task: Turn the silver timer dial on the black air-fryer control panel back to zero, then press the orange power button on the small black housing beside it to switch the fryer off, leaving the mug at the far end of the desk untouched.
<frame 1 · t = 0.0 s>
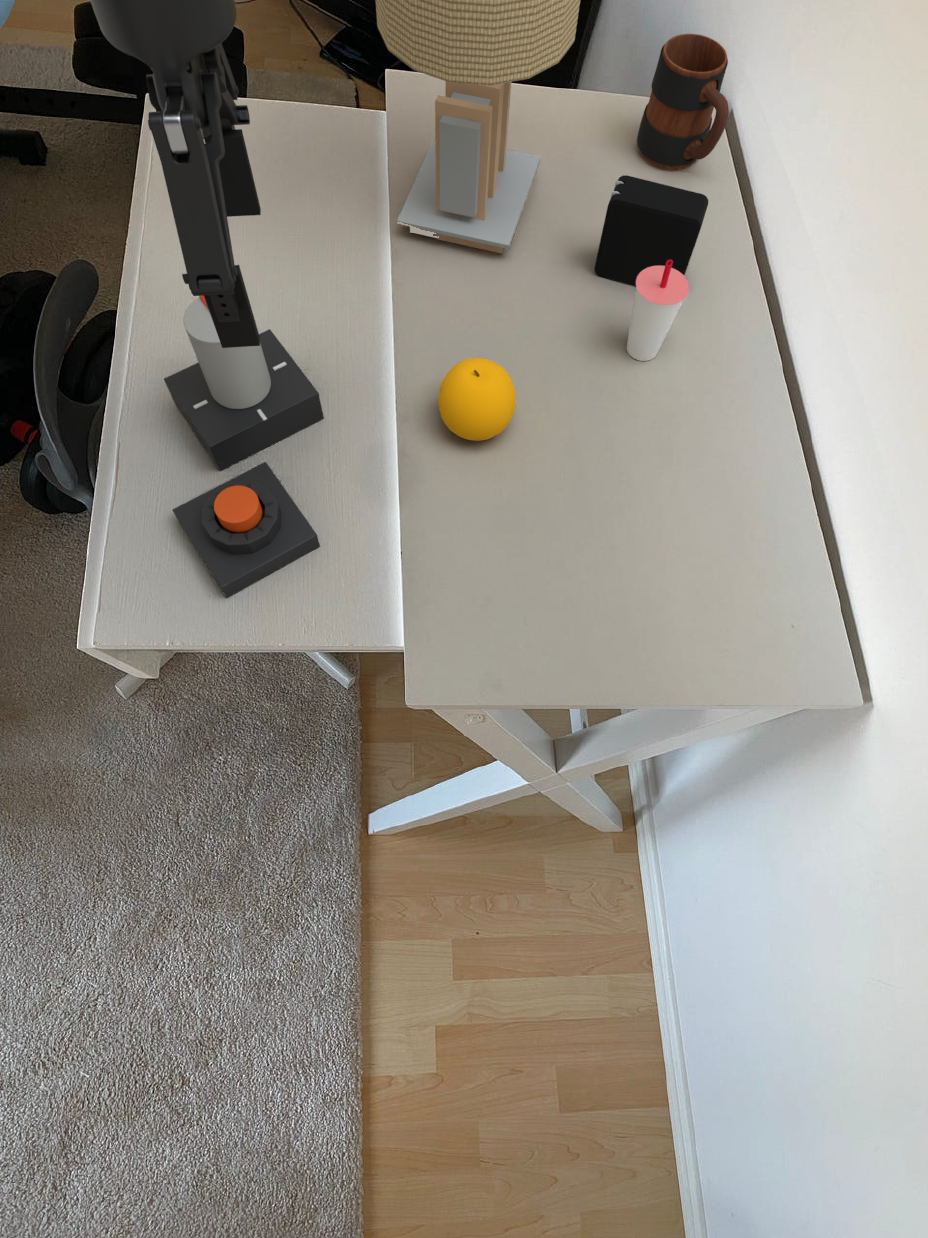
hand: (242, 275, 60), 22 cm above the table, tool pointing down, fingers open, 13 cm apart
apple: (475, 422, 82), on the table
mug: (675, 159, 100), on the table
power housing: (249, 533, 76), on the table
cup: (641, 350, 87), on the table
electronic device: (638, 275, 92), on the table
desk lamp: (470, 206, 96), on the table
power button: (238, 509, 72), point 4 cm above the table, slide at 0.1 cm
dial panel: (249, 411, 82), on the table
timer dial: (229, 351, 74), point 9 cm above the table, hinge at 90.0°
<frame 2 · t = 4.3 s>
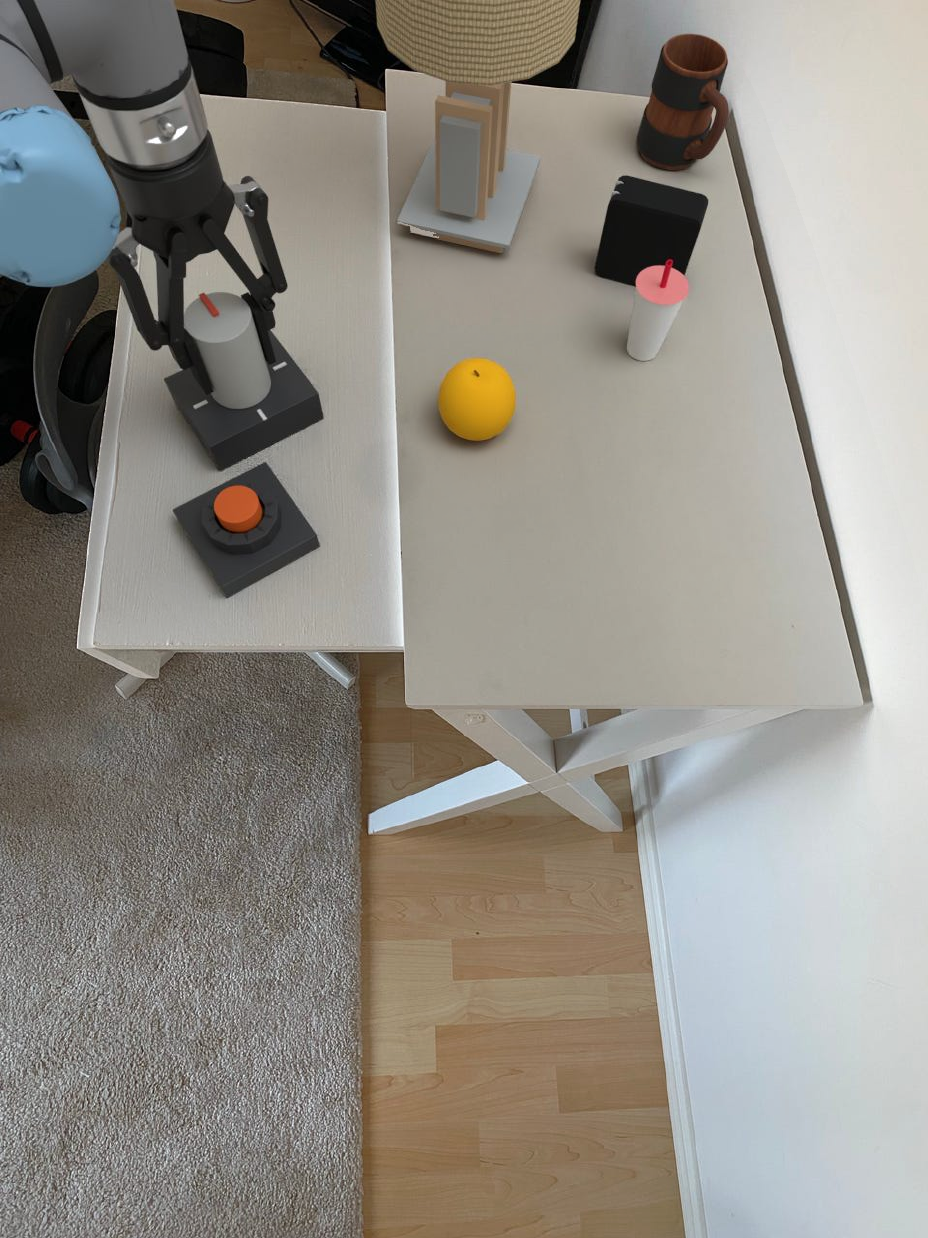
hand: (235, 368, 76), 6 cm above the table, tool pointing down, fingers closed on timer dial, 6 cm apart
timer dial: (229, 351, 74), point 9 cm above the table, hinge at 90.0°, touching gripper
everything else where it was.
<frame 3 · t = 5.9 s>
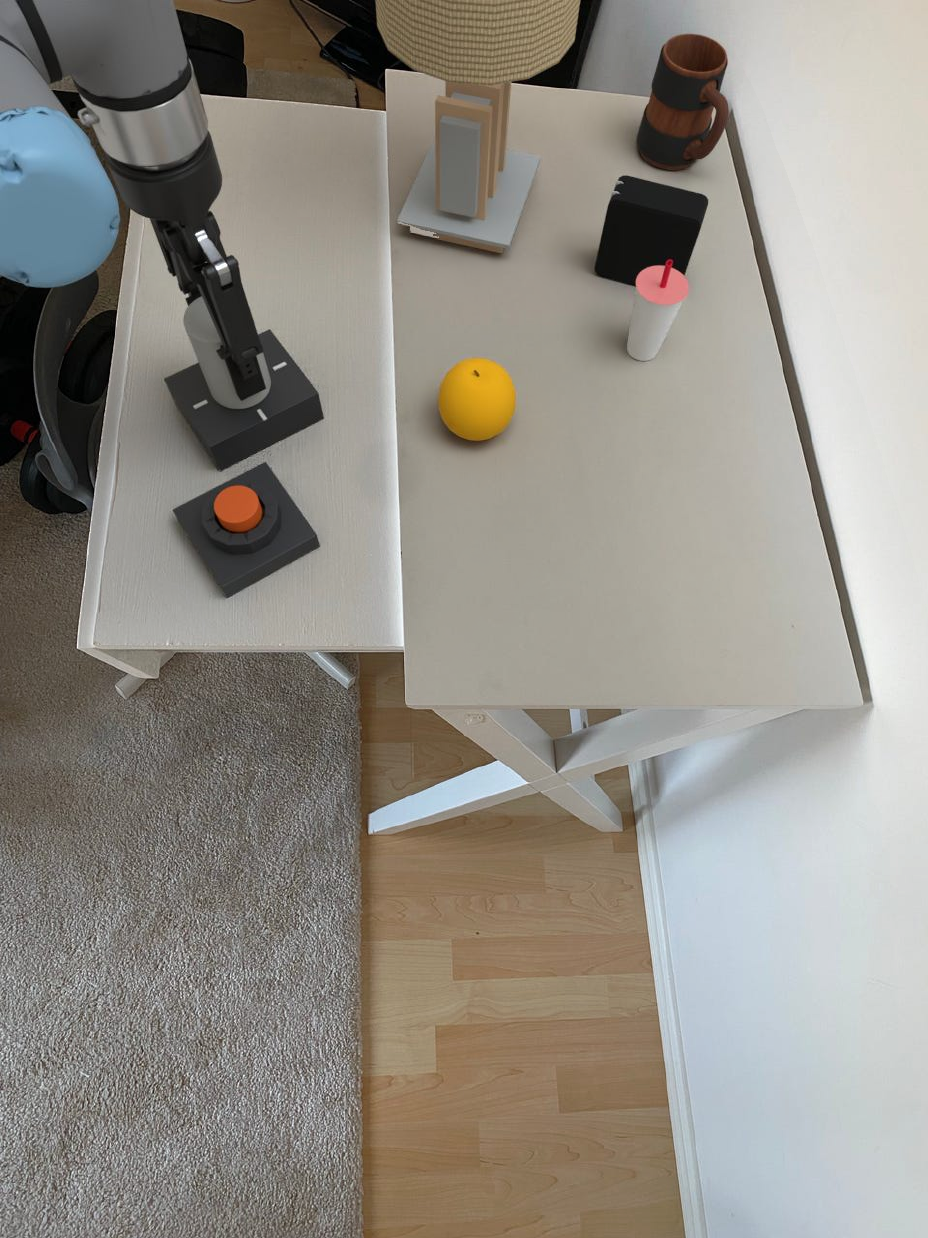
hand: (235, 368, 76), 6 cm above the table, tool pointing down, fingers closed on timer dial, 6 cm apart
timer dial: (229, 351, 74), point 9 cm above the table, hinge at -0.3°, touching gripper
everything else where it was.
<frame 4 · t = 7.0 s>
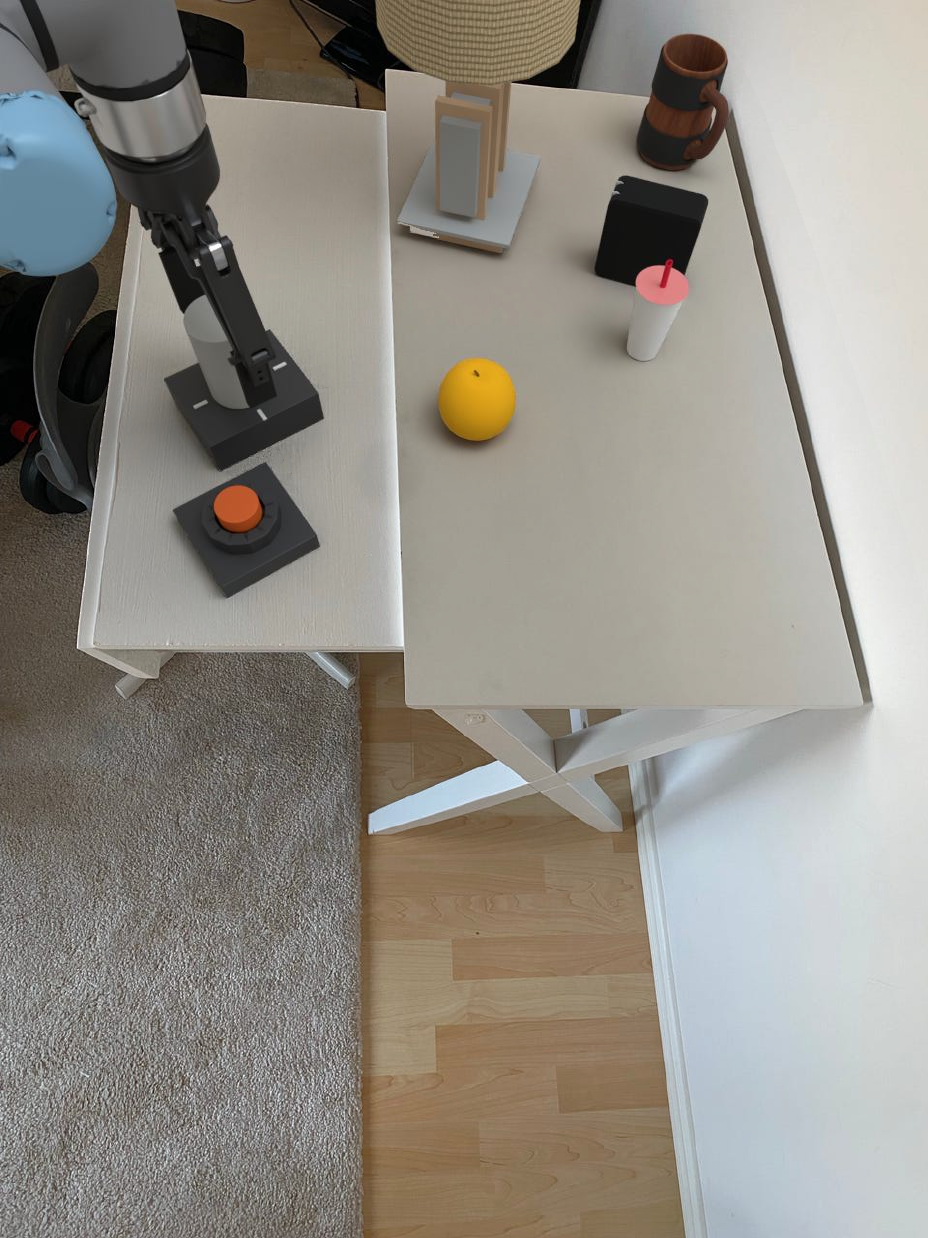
hand: (227, 351, 74), 9 cm above the table, tool pointing down, fingers open, 13 cm apart
timer dial: (229, 351, 74), point 9 cm above the table, hinge at -0.5°
everything else where it was.
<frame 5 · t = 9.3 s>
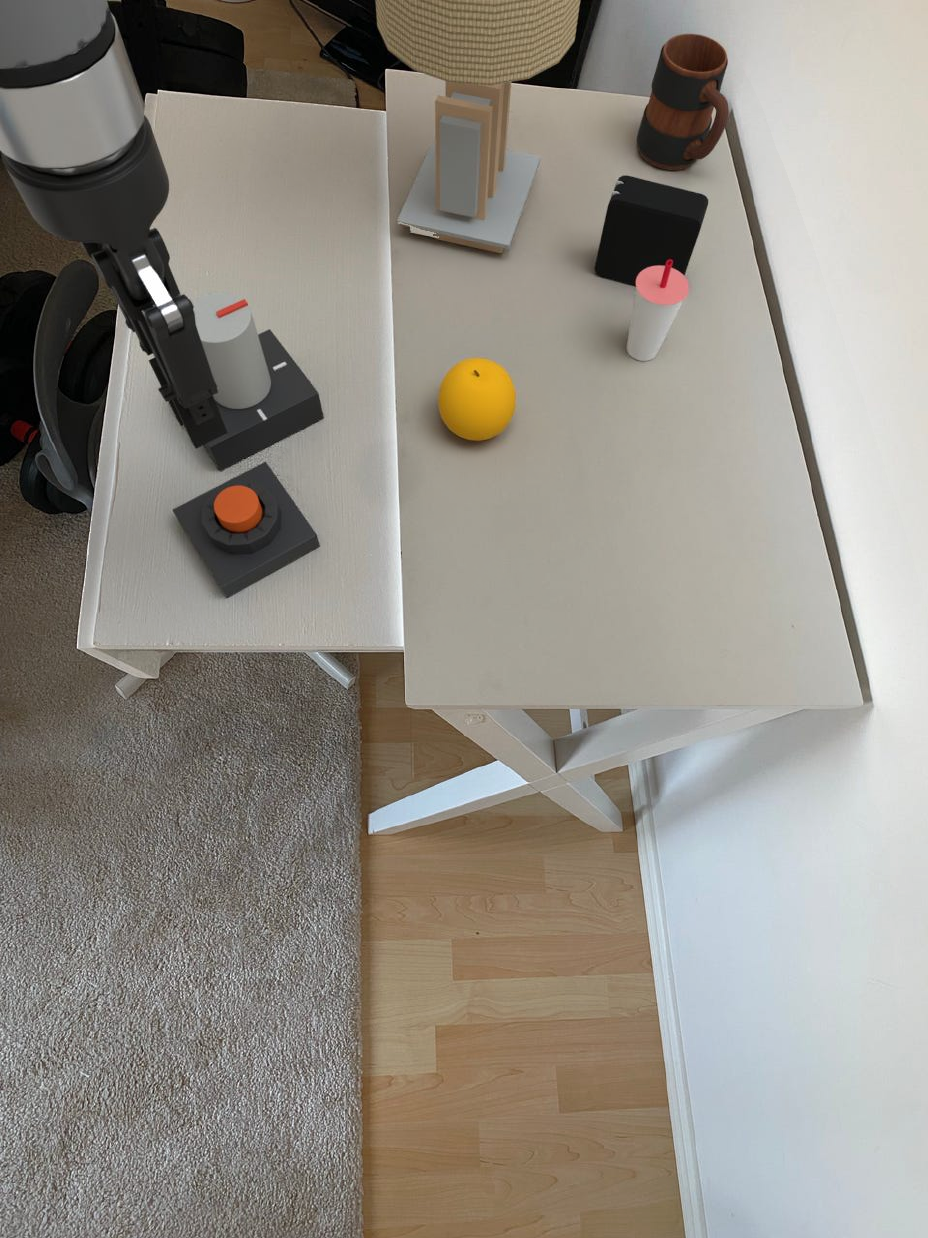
hand: (202, 425, 61), 16 cm above the table, tool pointing down, fingers closed
nothing on the table moved.
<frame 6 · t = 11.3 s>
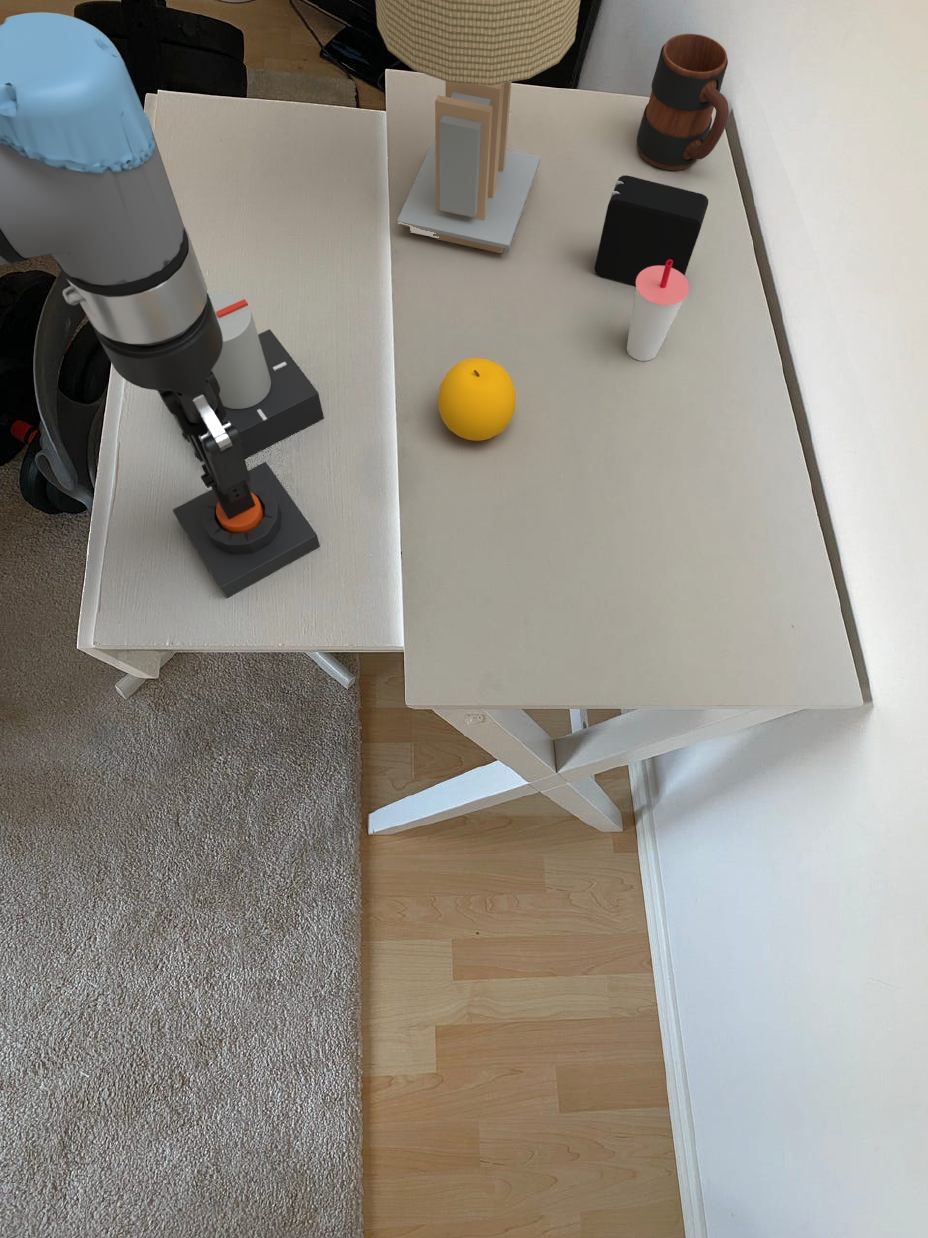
hand: (238, 506, 72), 5 cm above the table, tool pointing down, fingers closed
power button: (240, 513, 73), point 4 cm above the table, slide at -0.6 cm, touching gripper
everything else where it was.
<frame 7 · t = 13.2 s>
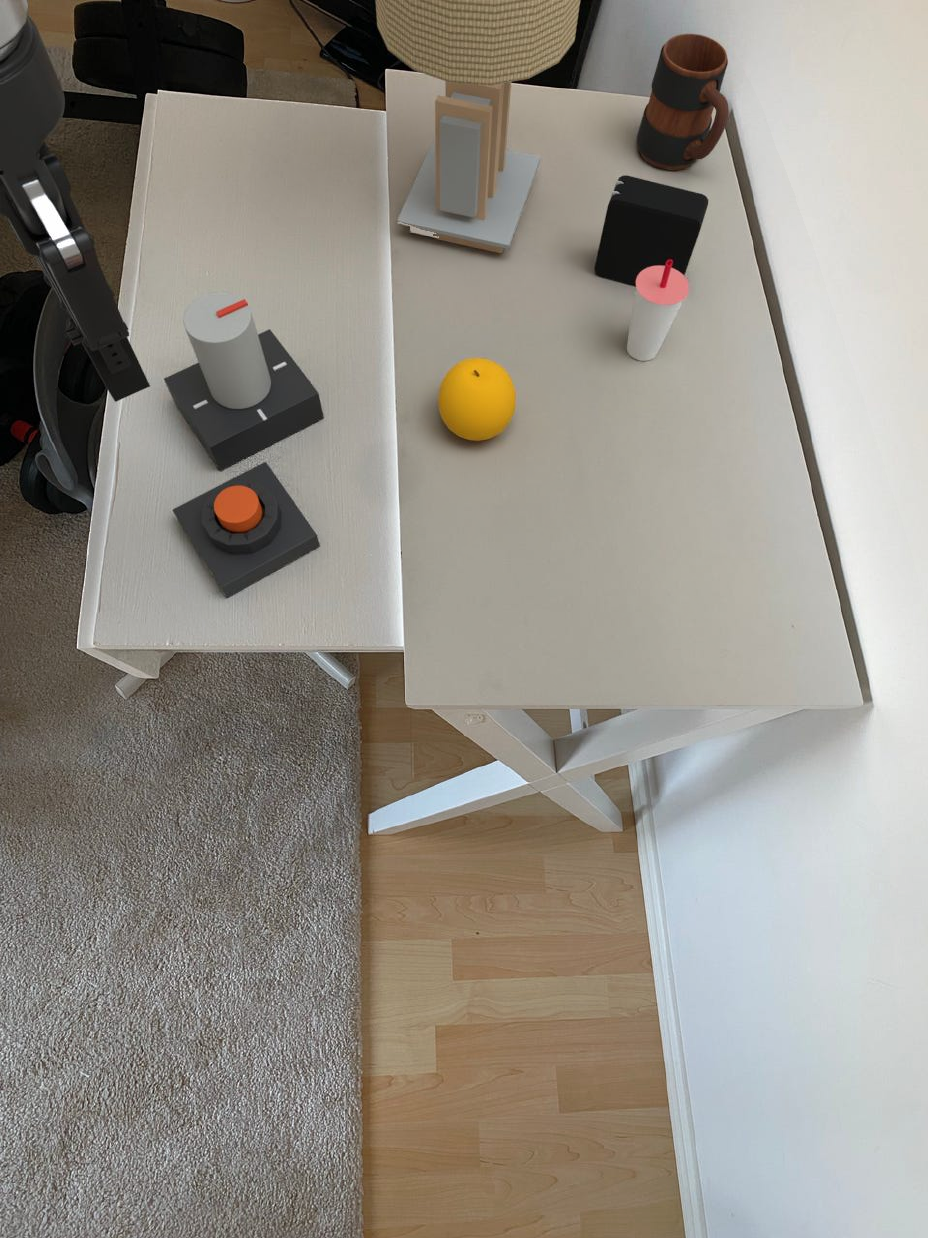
hand: (128, 386, 57), 21 cm above the table, tool pointing down, fingers closed
power button: (238, 508, 72), point 4 cm above the table, slide at 0.1 cm
everything else where it was.
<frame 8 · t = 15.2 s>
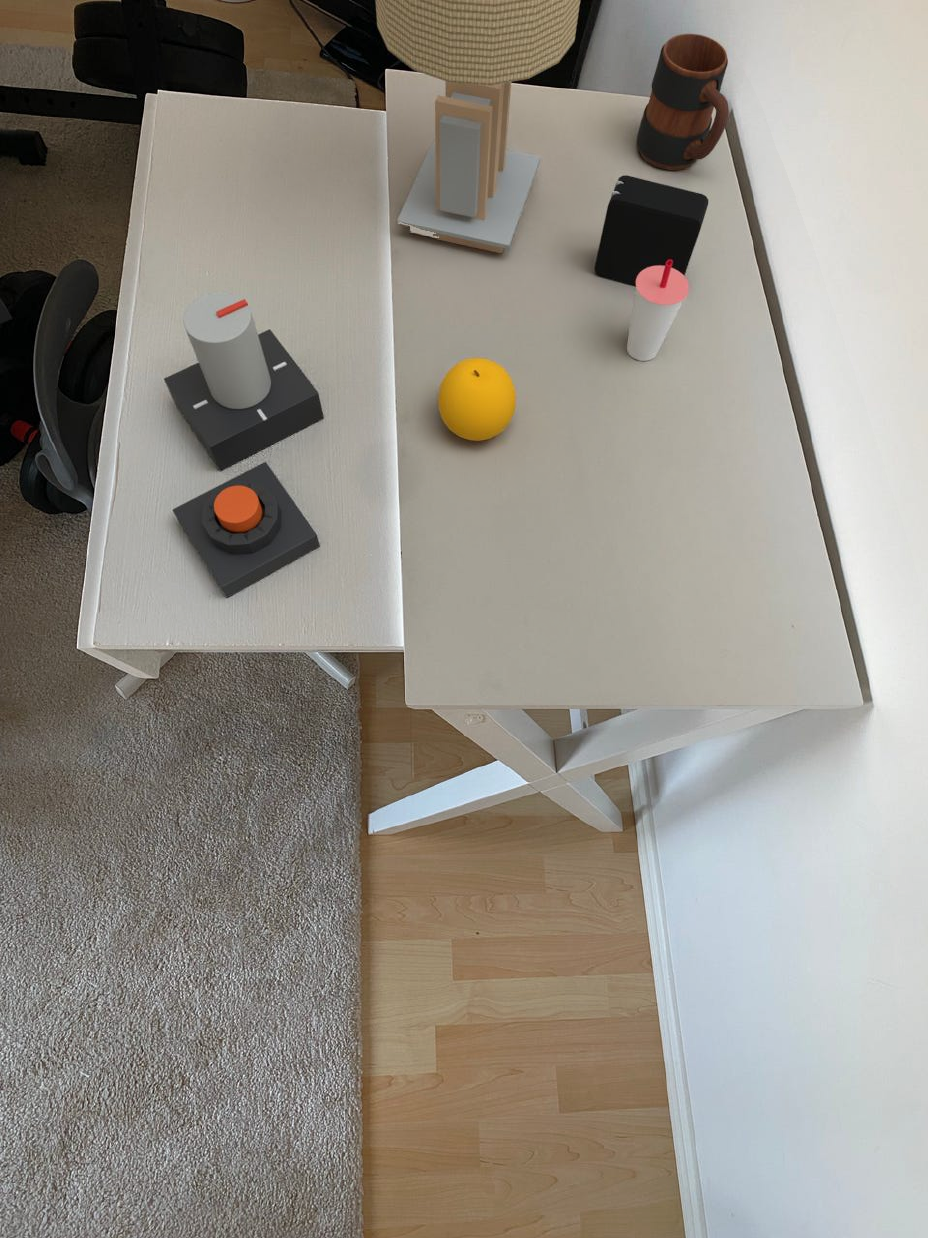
nothing on the table moved.
at the end: timer dial at +0° (first picture: +90°); power button pushed in 1.0 cm at the most during the clip, back to where it started at the end; mug moved 0.2 cm from its start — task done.
